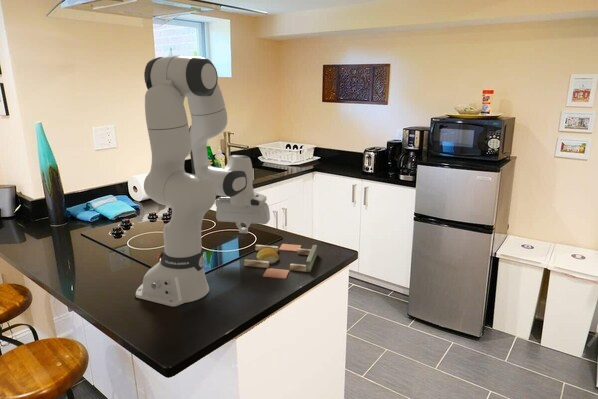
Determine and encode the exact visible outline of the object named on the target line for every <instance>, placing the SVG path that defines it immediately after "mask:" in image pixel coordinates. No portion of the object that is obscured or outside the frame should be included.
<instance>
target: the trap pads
mask: <svg viewBox="0 0 598 399" xmlns="http://www.w3.org/2000/svg"><path fill="white" fill-rule="evenodd" d="M298 248H301V249H302V245H301V244H291V243H290V244H288V243H282V244H281V245H280V247H278V251H284V252H295V253H298ZM289 273H290V269H280V268H273V267H272V268H271V267H269V268H266V270H265V271H264V273H263V275H262V277H263V278H272V279H273V278H274V279H281V280H282V279H283V280H286V279H287V276H288V275H289Z"/></svg>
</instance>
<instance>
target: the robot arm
mask: <svg viewBox="0 0 598 399" xmlns="http://www.w3.org/2000/svg"><path fill="white" fill-rule="evenodd" d="M143 74H144V82H145V86H146V88H147V91H146V92H145V95H144V111H145V112H144V113H145V114H144V115H145V122H146V128H147V132H148V133H147V134H148V139H149V145H150V150H151V166H150V171H149V172H148V174H147V175H146V176H145V179H144V182H143V190H144V193H145V195H146V196H147V197H148V198H150V200H152V201H154V202H155V203H157V204H160V205H163V206H166V207H170V208H171V216H170V217H171V218H170V221H169V222H167V223H166V224H164V227H163V230H162V233H163V236H162V237H163V246H164V250H161V251H160V253H159V254H158V255H157V260H159V259H160V261H159V262H157V263H156V264H154V265H153V266H152V267H151V268H149V269H148V270H147V272H146V273H145V275H144V276H143V280H142V284H140V286H139V287H137V289H136V291H135V297H136V298H138V299H140V300H141V299H142V300H145V301H150V302H153V303H157V304H161V305H165V306H168V307H178V306H180V305H182V304H185V303H191V302H195V301H198V300H200V299H202V298H204V297H205V296H207V294H208V293H209V292H210V287H209V284H208V281H207V277H206V273H205V268H204V266H205V256H204V249H203V247H202V246H203V245H202V223H203V220H204V216H205V214H206V213H207V212H209V210H211V209H212V208H213V206H214V204H215V207H216V209H215V219H216V220H217V222H225V223H226V222H227V223H228V222H229V223H235V226H236V227H237V229H238V233H239V234H248V233H249V227H250V225H251V224H255V225H256V224H258V225H267V224H268V223H269V222H270V220H271V214H270V207H269V205H268V203H267V200H268V199H267V196H266V195H264V194H261V193H258V192H257V191H255V190H254V186H253V182H254V170H253V164H252V159H251V158H250V157H249V156H247V155H242V154H241V155H239V154H232V155H229V157H228V162H227V163H226V165H225V166H223V167H215V166H212V165H211V164H210V163H209V155H208V148H207V142H208V140H211V139H213V138H215V137H217V136H219V135H220V134H221V133H222V132H224V130H225V129H226V127H227V124H228V113H227V109H226V104H225V100H224V97H223V93H222V91H221V87H220V85H219V82H218V77H219V76H218V71H217V68H216V66H215V64H214V63H213V62H212V61H211V60H210V59H209V58H206V57H202V56H187V55H186V56H185V55H184V56H183V55H182V56H181V55H170V56H160V57H159V56H158V57H155V58H152V59H150V60H148V62H147V63H146V65H145V68H144V72H143ZM185 97H186V98H187V103H188V104H187V105H188V108H189V112H190V117H191V124H190V125H189V121H188V117H187V112H186V111H187V110H186V108H185V105H184V103H185ZM188 156H190V161H191V162H190V163H191V173H189V172H186V170H185V163H186V162H185V161H186V158H187V157H188ZM218 196H219V197H218ZM242 223H243V224H245V227H244V226H242Z"/></svg>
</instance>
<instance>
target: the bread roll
mask: <svg viewBox="0 0 598 399" xmlns="http://www.w3.org/2000/svg"><path fill="white" fill-rule="evenodd" d="M279 259H280V256H279V254H278V252H276V251H275V250H274V249H272V248H264V249H262V250H260V251H258V252H257V253H256V260H259V261H269V265H270V264H275V263H277V261H279Z"/></svg>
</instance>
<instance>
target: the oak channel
mask: <svg viewBox="0 0 598 399" xmlns="http://www.w3.org/2000/svg"><path fill="white" fill-rule="evenodd" d="M264 248H272V249H274V250H275V251H276V252H277V253H278V252H279V246H276V245H267V244H266V245H264V244H255V251H258V252H259V251H260V250H262V249H264ZM297 255H301V256H302V255H303V256H307V259H306V261H305V264H301V263H300V264H299V263H290V264H289V271H297V272H306V273H307V272H308V273H311V271H312V269H313V266H314V263H315V260H316V258H317V256H318V245H317V244H313V245H312V246H311V249H310V248H302V247H301V248H298V252H297ZM243 262H244V263H243V265H244V267H245V266H246V267H256V268H266V269H267V268H270V264H269V261H259V260H257V259H247V258H246V259H245V258H244V261H243Z"/></svg>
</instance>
